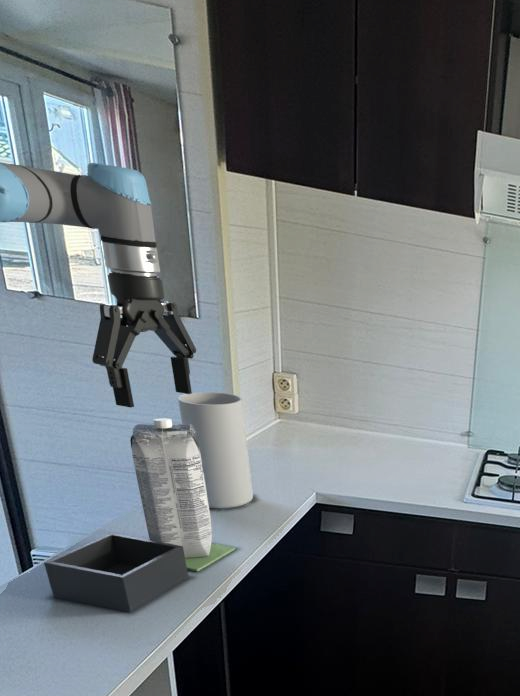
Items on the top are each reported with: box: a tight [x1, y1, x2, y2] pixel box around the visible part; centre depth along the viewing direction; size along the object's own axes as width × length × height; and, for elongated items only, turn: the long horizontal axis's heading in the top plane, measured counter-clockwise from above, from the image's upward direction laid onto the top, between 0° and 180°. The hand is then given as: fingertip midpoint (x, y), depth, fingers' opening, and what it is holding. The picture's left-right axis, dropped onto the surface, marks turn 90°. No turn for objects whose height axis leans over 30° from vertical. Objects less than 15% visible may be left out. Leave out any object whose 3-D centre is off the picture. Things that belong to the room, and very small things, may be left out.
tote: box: [43, 532, 190, 613], centre depth 113 cm, size 15×14×7 cm
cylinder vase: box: [177, 391, 254, 509], centre depth 149 cm, size 12×12×25 cm
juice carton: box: [130, 417, 213, 558], centre depth 122 cm, size 9×10×27 cm
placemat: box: [185, 542, 236, 572], centre depth 128 cm, size 14×11×1 cm
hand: (156, 399), depth 114 cm, fingers open, 13 cm apart
